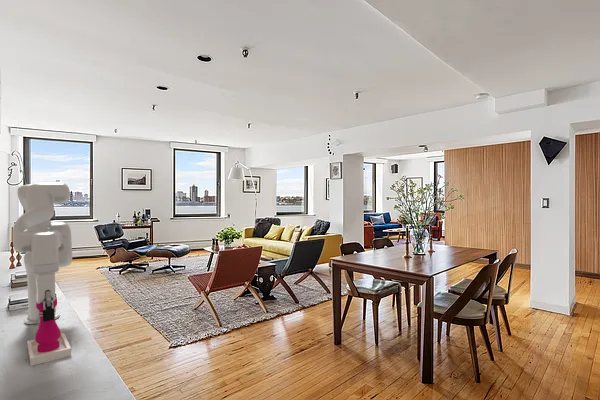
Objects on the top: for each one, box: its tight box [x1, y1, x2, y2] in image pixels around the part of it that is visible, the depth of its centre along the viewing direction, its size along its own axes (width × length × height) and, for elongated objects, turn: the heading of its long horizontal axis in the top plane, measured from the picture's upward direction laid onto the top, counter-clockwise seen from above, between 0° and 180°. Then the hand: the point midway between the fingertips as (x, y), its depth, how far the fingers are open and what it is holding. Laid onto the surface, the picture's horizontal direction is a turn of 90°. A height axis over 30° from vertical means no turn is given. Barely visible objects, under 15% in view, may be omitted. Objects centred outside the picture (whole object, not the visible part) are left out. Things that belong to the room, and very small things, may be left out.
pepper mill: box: [34, 294, 62, 352], centre depth 122 cm, size 7×7×20 cm
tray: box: [26, 332, 72, 367], centre depth 123 cm, size 18×11×2 cm, turn 40°
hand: (47, 316), depth 123 cm, fingers open, 9 cm apart
